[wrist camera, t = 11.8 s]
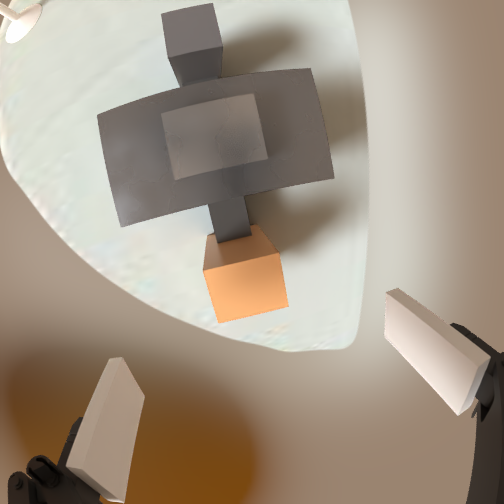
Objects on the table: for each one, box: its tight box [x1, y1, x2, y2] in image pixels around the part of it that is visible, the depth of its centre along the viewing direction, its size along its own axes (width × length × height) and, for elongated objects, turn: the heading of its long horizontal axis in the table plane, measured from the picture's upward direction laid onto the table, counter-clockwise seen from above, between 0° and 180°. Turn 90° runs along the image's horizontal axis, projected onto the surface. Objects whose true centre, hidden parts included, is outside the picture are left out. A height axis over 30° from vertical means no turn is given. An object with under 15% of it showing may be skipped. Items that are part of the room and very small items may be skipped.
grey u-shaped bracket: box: [97, 68, 334, 227], centre depth 18 cm, size 6×11×15 cm, turn 102°
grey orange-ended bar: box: [161, 3, 288, 323], centre depth 21 cm, size 24×5×10 cm, turn 12°
